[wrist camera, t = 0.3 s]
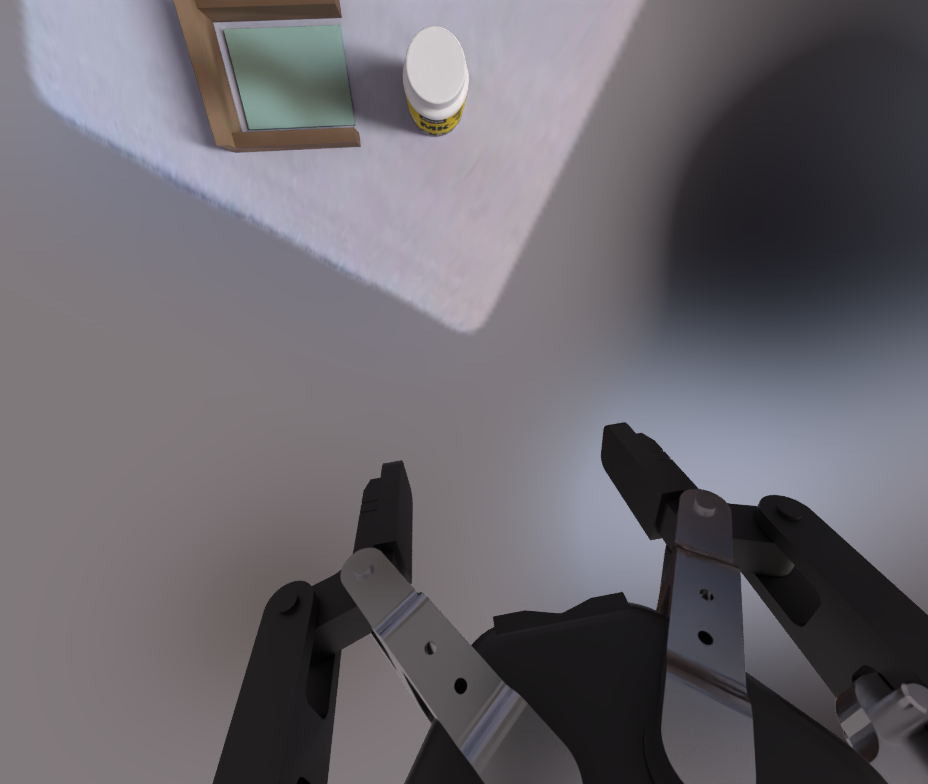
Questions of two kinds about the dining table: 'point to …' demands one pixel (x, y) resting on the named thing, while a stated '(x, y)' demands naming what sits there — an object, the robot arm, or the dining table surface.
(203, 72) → the rail bay
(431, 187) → the dining table surface
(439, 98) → the supplement bottle
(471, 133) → the dining table surface
